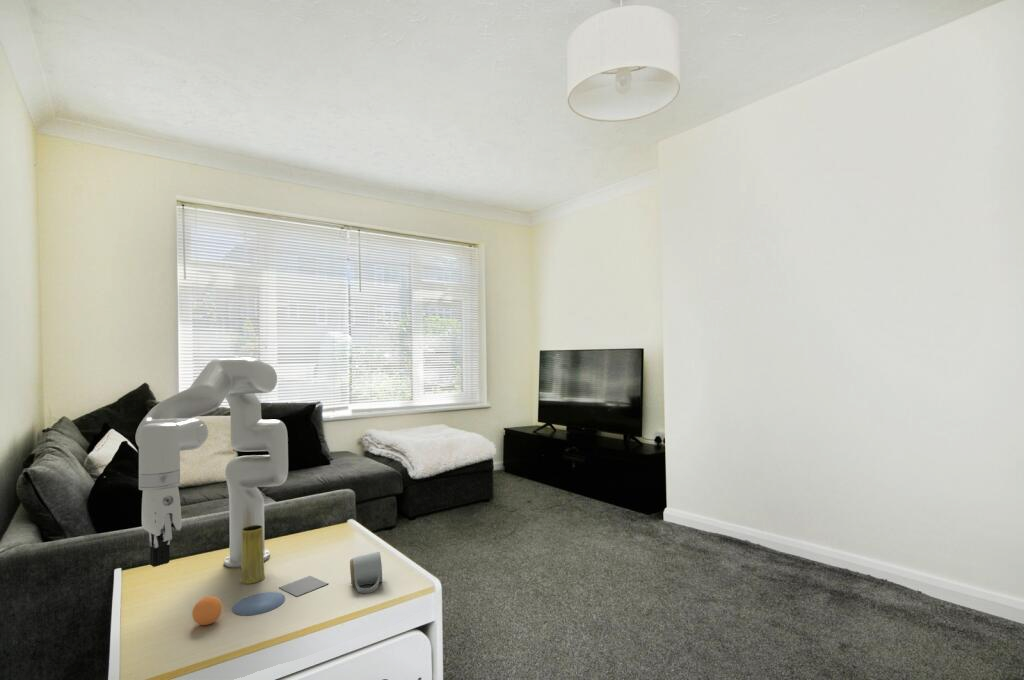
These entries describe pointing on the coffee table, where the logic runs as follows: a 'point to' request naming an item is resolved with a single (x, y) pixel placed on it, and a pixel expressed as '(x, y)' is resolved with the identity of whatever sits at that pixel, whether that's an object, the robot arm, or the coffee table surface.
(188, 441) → the robot arm
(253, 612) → the disc
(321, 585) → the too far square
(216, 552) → the coffee table surface
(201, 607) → the ball
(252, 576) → the vase
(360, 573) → the grey rounded holder
